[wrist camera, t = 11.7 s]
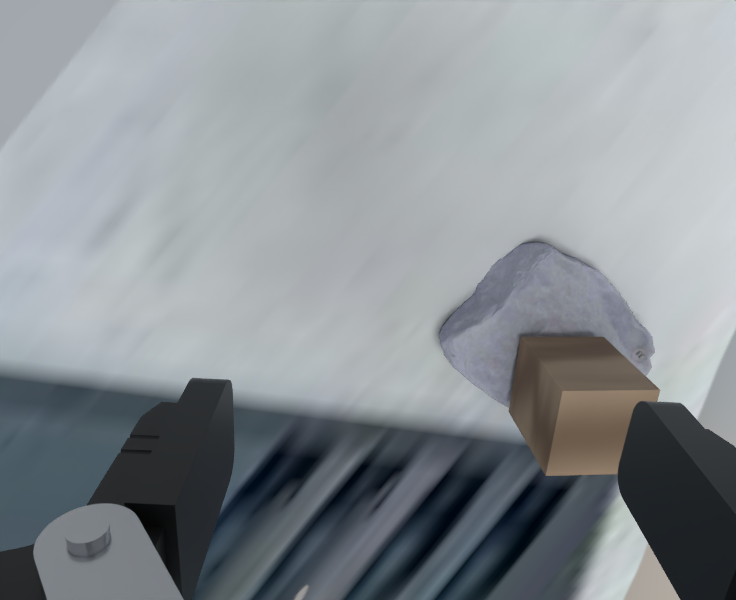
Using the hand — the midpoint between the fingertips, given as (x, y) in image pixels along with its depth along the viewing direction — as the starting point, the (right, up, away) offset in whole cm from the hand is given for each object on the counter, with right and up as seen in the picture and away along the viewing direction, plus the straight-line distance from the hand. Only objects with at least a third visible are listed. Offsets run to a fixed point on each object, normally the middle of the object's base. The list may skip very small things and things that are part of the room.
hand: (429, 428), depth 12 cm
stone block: (+10, +1, +27) cm, 29 cm away
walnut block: (+10, -2, +24) cm, 26 cm away
